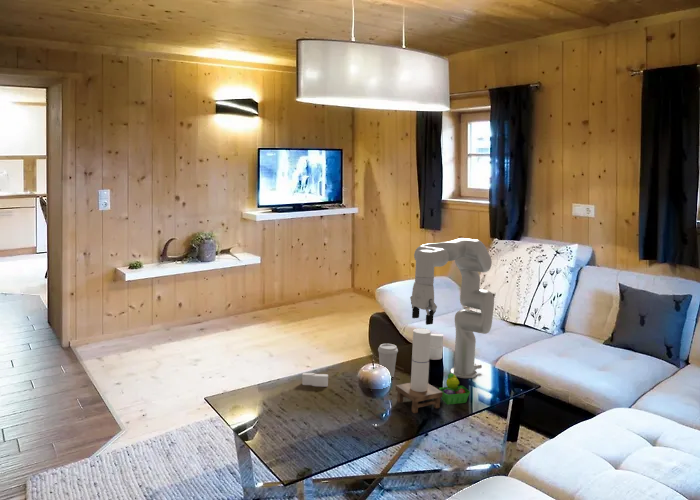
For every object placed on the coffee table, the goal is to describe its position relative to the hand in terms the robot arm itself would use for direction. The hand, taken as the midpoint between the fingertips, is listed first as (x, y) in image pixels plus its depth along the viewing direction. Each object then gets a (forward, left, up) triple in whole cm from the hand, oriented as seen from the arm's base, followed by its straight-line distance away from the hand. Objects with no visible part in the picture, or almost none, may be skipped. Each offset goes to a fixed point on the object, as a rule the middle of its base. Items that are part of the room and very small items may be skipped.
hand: (422, 321), depth 235 cm
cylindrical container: (0, 0, -29) cm, 29 cm away
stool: (0, 0, -36) cm, 36 cm away
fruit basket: (-16, +3, -36) cm, 40 cm away
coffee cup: (-4, -32, -36) cm, 48 cm away
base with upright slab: (-41, -46, -36) cm, 71 cm away
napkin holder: (+31, -37, -37) cm, 61 cm away
